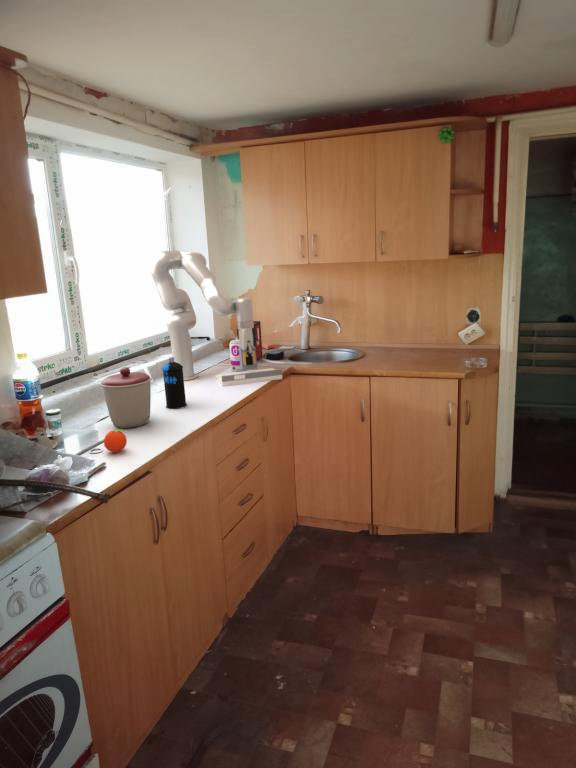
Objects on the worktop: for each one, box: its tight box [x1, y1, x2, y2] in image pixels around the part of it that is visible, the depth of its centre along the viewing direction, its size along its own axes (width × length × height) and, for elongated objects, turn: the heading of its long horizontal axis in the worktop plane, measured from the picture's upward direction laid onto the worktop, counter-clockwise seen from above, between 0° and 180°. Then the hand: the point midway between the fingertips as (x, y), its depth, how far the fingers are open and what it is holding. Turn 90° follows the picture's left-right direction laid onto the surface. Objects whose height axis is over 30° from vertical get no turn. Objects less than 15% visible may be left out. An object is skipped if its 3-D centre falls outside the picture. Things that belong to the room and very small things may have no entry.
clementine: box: [103, 429, 128, 453], centre depth 179 cm, size 8×7×7 cm
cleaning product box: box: [236, 320, 263, 363], centre depth 306 cm, size 16×9×20 cm, turn 170°
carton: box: [239, 346, 258, 371], centre depth 264 cm, size 5×7×10 cm
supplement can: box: [228, 338, 246, 372], centre depth 284 cm, size 8×8×15 cm
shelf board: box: [215, 367, 283, 387], centre depth 265 cm, size 28×16×4 cm, turn 107°
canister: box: [99, 367, 153, 429], centre depth 205 cm, size 18×18×21 cm
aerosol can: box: [161, 356, 188, 410], centre depth 225 cm, size 8×8×20 cm
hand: (248, 363), depth 264 cm, fingers closed on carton, 4 cm apart
